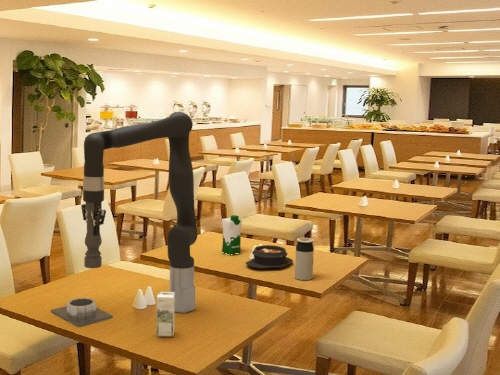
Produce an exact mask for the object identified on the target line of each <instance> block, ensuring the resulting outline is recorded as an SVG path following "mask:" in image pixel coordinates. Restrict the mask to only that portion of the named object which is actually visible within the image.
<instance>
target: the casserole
mask: <svg viewBox="0 0 500 375" xmlns="http://www.w3.org/2000/svg"><path fill="white" fill-rule="evenodd" d="M251 253H252V255H253V258H252V259H250V260H247V261H246V262H245V265H246V266H249V267H251V268H256V269H268V268H274V269H279V268H283V267H286V266H288V265H289V264H291V263H293V262H294V260H293V259H292V258H290V257H287V256H288V252H287V251H286V248H284V247H283V246H278V245H271V244H270V245H269V244H268V245H267V244H266V245H258V246H256V247H254V250H253V251H252V252H251Z"/></svg>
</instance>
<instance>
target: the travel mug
mask: <svg viewBox="0 0 500 375" xmlns="http://www.w3.org/2000/svg"><path fill="white" fill-rule="evenodd" d="M296 241H297V244H296V245H295V266H294V278H295V279H296V280H298V279H299V281H310V280H312V279H313V273H314V272H313V271H314V255H315V254H314V249H315V248H314V244H313V242H314V241H315V240H314V239H313V238H310V237H299V238H298V237H297V239H296Z"/></svg>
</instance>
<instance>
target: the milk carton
mask: <svg viewBox="0 0 500 375" xmlns="http://www.w3.org/2000/svg"><path fill="white" fill-rule="evenodd" d="M239 217H240V216H239V215H230V217H227V218H226V217H225V218H221V222H222V223H221V224H222V249H221V253H222V252H224V253H227V254H230V255H231V254H235V253H240V252H241V253H242V250H241V249H242V246H241V239H242V238H241V237H242V236H241V235H242V225H243V219H240V218H239ZM224 253H223V254H224Z"/></svg>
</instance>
